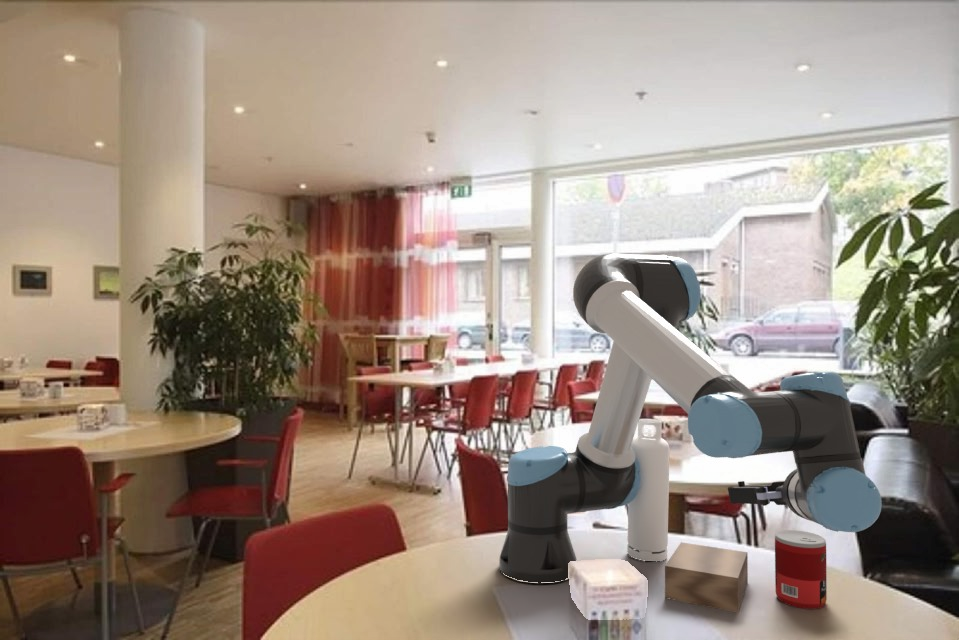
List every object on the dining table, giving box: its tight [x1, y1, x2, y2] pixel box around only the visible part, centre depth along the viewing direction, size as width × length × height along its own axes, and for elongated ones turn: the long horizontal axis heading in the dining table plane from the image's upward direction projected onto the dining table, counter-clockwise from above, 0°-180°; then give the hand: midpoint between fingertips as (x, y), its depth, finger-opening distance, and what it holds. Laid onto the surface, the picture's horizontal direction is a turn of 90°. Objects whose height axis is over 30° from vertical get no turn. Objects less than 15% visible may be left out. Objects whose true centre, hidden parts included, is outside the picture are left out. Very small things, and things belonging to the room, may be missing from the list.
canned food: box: [774, 529, 828, 610], centre depth 113 cm, size 8×8×11 cm
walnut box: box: [664, 541, 749, 613], centre depth 118 cm, size 12×14×6 cm
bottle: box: [626, 418, 671, 563], centre depth 135 cm, size 8×8×28 cm
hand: (785, 487), depth 111 cm, fingers open, 13 cm apart
